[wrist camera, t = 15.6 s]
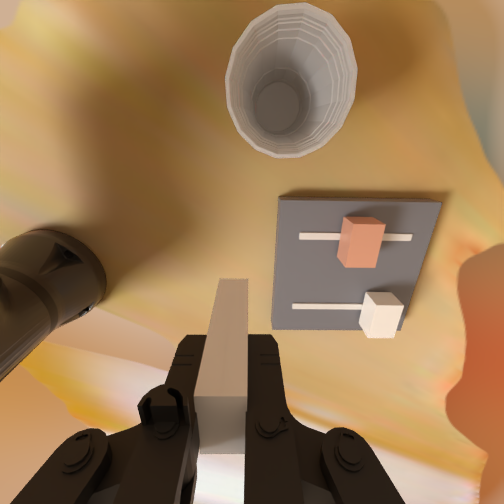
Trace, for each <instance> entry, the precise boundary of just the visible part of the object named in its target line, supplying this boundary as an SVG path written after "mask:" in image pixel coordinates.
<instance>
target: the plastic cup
mask: <svg viewBox="0 0 504 504" xmlns="http://www.w3.org/2000/svg"><path fill="white" fill-rule="evenodd" d="M357 72H358V68H357V64H356V60H355V56H354V52H353V47H352V43H351V39H350V37H349V36H348V35H347V33H346V32H345V31H344V30H343V28H342V27H341V26H340V24H339V23H338V22H337V20H336V19H335V18H334V16H333V15H332V14H330V13H328V12H326V11H324V10H321V9H319V8H317V7H315V6H313V5H311V4H309V3H306V2H303V3H291V4H280V5H276V6H274V7H272V8H271V9H269V10H268V11H266V12H265V13H263V14H261V15H260V16H258V17H257V18H255V19H254V20H252V21H251V22H250V23H249V25H248V26H247V28H246V29H245V30H244V32H243V33H242V35H241V36H240V38H239V39H238V41H237V42H236V44H235V45H234V46H233V49H232V52H231V56H230V60H229V64H228V68H227V71H226V75H225V87H226V101H227V109H228V111H229V113H230V116H231V118H232V120H233V122H234V125H235V127H236V129H237V132H238V133H239V134H240V135H241V136H242V137H243V138H244V139H245V140H246V141H247V142H248V143H249V144H250V145H251V146H252V147H253V148H254V149H255V150H257V151H260V152H262V153H264V154H267V155H269V156H272V157H274V158H299V157H302V156H304V155H306V154H308V153H311V152H313V151H315V150H317V149H319V148H321V147H323V146H324V145H325V144H326V143H327V142H328V141H329V140H330V139H331V138H332V137H333V136H334V135H335V134H336V133H337V132H338V130H339V129H340V128H341V127H342V125H343V123H344V121H345V119H346V117H347V115H348V113H349V110H350V108H351V106H352V104H353V102H354V98H355V89H356V81H357Z"/></svg>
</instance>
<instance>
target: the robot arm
mask: <svg viewBox="0 0 504 504" xmlns="http://www.w3.org/2000/svg"><path fill="white" fill-rule="evenodd" d="M105 290H106V277H105V273H104V270H103V267H102V265H101V264H100V262H99V260H98V259H97V257H96V256H95V255H94V254H93V253H92V252H91V251H90V250H89V249H88V248H87V247H86V246H85V245H83V244H82V243H81V242H79V241H78V240H76V239H74V238H72V237H70V236H68V235H66V234H63V233H60V232H56V231H51V230H34V231H30V232H27V233H24V234H21V235H19V236H16V237H14V238H12V239H10V240H9V241H7V242H6V243H4V244H3V245H2V246H1V247H0V382H1V381H2V380H3V379H4V378H5V377H6V376H7V375H8V374H9V373H10V372H11V371H12V370H13V369H14V368H15V367H16V366H17V365H18V364H19V363H20V362H21V361H22V360H23V359H24V358H25V357H26V356H27V355H28V354H29V353H30V352H31V351H32V350H33V349H35V348H36V347H37V346H38V345H39V344H40V343H41V342H42V341H43V340H44V339H45V338H46V337H47V336H48V335H49V334H50V333H51V332H52V331H53V330H55V329H57V328H59V327H61V326H63V325H65V324H67V323H69V322H71V321H73V320H75V319H77V318H79V317H82V316H83V315H85V314H87V313H88V312H89V311H91V310H92V309H93V308H94V307H95V306H96V305H97V304H98V303H99V301H100V300H101V299H102V297H103V295H104V293H105ZM137 407H138V411H139V415H140V419H141V423H140V424H138V425H136V426H134V427H132V428H130V429H127V430H124V431H121V432H118V433H114V434H111V435H108V436H106V433H105V432H103V431H102V430H100V429H94V428H89V429H86V430H83V431H79V432H77V433H76V434H74V435H73V436H71V437H69V438H68V439H66V440H65V441H64V442H63V443H62V444H61V445H60V446H59V447H58V448H57V449H56V450H55V451H54V453H53V454H52V455H51V456H50V457H49V458H48V460H47V461H46V462H45V463H44V464H43V466H42V467H41V468H40V469H39V470H38V471H37V473H36V474H35V475H34V476H33V477H32V479H31V480H30V481H29V482H28V483H27V484H26V486H25V487H24V488H23V489H22V491H20V493H19V494H18V495H17V496H16V497H15V498H14V500H13V501H12V502H11V503H10V504H193V500H194V493H195V487H196V480H197V465H196V463H197V457H198V451H199V449H200V454H245V477H244V504H405V502H404V501H403V499H402V497H401V496H400V494H399V492H398V491H397V489H396V488H395V486H394V484H393V483H392V481H391V479H390V478H389V476H388V475H387V473H386V471H385V470H384V468H383V466H382V465H381V463H380V461H379V460H378V458H377V457H376V455H375V453H374V452H373V450H372V448H371V447H370V446H369V445H368V443H367V442H366V441H365V440H364V438H363V437H361V436H360V435H359V434H357V433H356V432H354V431H353V430H350V429H347V428H344V427H341V428H333V429H331V430H330V431H328V432H327V433H326V434H325V433H322V432H319V431H317V430H314V429H311V428H308V427H306V426H304V425H302V424H301V423H300V422H298V421H297V420H296V419H295V418H294V417H293V416H292V415H291V413H290V411H289V409H288V407H287V404H286V399H285V392H284V385H283V378H282V371H281V365H280V357H279V350H278V343H277V342H276V341H275V339H274V338H273V336H272V335H271V334H248V279H219V284H218V288H217V293H216V297H215V302H214V306H213V311H212V315H211V320H210V324H209V329H208V333H207V335H186V336H185V338H184V339H183V340H182V341H181V342H180V343H179V345H178V348H177V350H176V353H175V357H174V359H173V362H172V366H171V367H170V370H169V373H168V376H167V379H166V382H165V384H163V385H159V386H157V387H155V388H153V389H151V390H150V391H149V392H148V393H147V394H145V395H144V396H143V397H142V399H141V401H140V402H139V404H138V405H137Z"/></svg>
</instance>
